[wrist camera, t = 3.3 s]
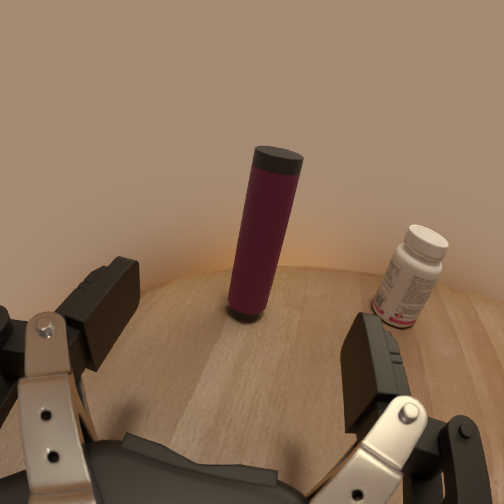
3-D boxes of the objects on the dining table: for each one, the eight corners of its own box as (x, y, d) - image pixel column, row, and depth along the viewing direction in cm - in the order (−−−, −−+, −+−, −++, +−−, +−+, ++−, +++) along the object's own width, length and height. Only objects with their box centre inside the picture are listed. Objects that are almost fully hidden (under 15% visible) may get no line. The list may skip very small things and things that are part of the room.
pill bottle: (419, 315, 28) (457, 242, 24) (404, 336, 25) (448, 255, 20) (382, 291, 30) (414, 218, 26) (363, 309, 27) (398, 227, 23)
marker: (243, 329, 23) (280, 159, 16) (218, 306, 24) (245, 145, 18) (271, 315, 25) (313, 159, 18) (246, 295, 26) (278, 146, 20)
